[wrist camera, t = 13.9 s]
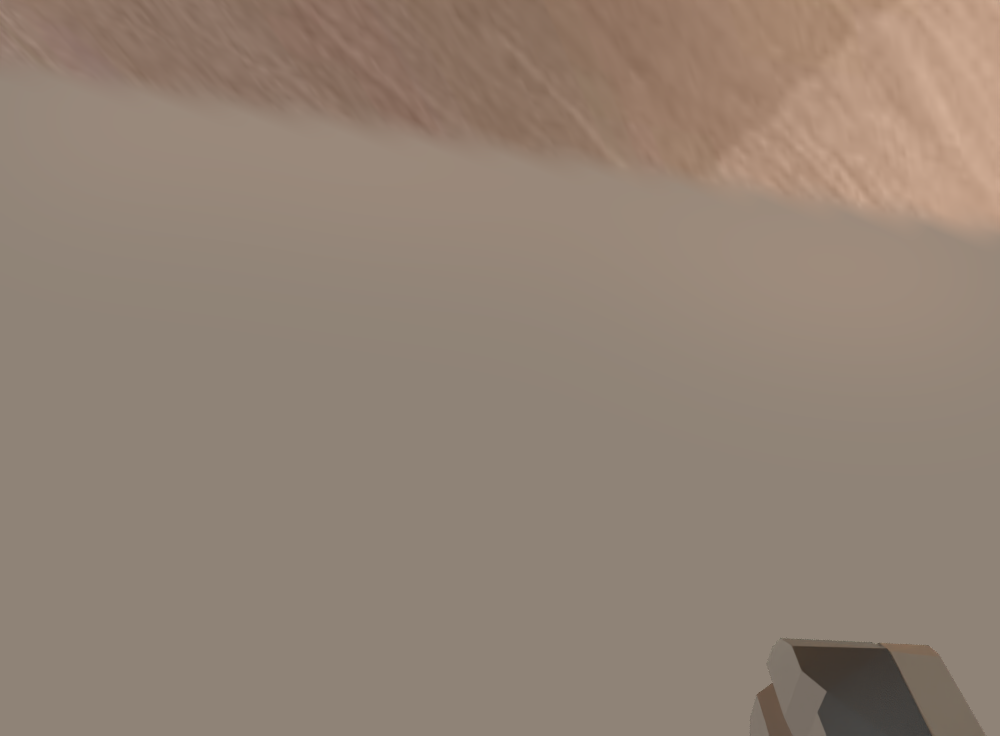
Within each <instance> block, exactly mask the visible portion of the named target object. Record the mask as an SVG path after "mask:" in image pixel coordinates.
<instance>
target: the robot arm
mask: <svg viewBox="0 0 1000 736" xmlns="http://www.w3.org/2000/svg"><path fill="white" fill-rule="evenodd" d="M767 667H768V670H769V673H770V676H771V679H772V682H773V683H772V684H770V685H769V686H767V687H766V688H765V689H763V690H762V691H761V692H759V693H758V694H757V695H756V699H755V702H754V706H753V710H752V713H751V718H750V736H986V735H985V733H984V731H983V729H982V728H981V726H980V724H979V723H978V721H977V719H976V717H975V716H974V714H973V712H972V710H971V709H970V707H969V705H968V704H967V702H966V700H965V698H964V697H963V695H962V693H961V691H960V690H959V688H958V686H957V685H956V683H955V681H954V679H953V678H952V676H951V674H950V672H949V671H948V669H947V667H946V666H945V664H944V662H943V660H942V659H941V657H940V655H939V654H938V653H937V652H936V651H935V650H933V649H932V648H931V647H930V646H928V645H911V644H890V643H878V644H875V643H872V642H853V641H832V640H811V639H789V638H780V639H779V640H778V641H777V642H776V644H775V645H774V646H773V647H772V650H771V653H770V656H769V659H768V662H767Z"/></svg>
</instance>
